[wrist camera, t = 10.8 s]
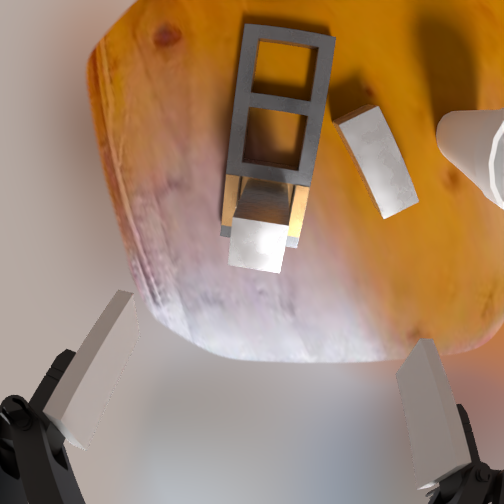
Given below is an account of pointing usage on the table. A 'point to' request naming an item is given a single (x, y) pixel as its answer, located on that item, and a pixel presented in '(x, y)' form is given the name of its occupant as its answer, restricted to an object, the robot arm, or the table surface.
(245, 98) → the grey flat frame
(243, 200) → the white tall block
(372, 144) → the block
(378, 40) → the table surface
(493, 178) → the foam cup
